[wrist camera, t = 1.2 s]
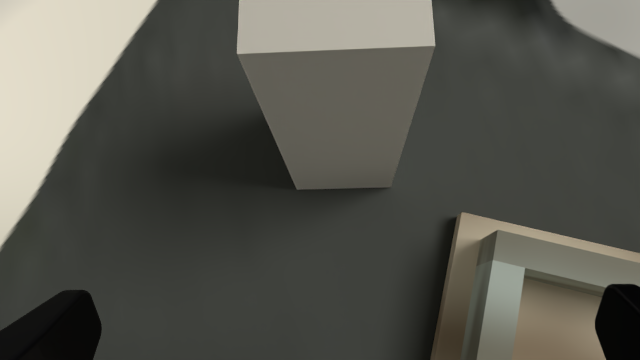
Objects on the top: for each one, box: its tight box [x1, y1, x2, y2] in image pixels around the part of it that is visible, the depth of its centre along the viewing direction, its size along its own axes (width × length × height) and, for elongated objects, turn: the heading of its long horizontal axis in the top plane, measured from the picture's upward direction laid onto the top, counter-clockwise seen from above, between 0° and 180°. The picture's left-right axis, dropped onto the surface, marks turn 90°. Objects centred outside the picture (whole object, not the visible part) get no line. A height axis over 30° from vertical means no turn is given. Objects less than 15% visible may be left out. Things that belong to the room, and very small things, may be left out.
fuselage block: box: [237, 0, 435, 190], centre depth 17 cm, size 4×4×12 cm
